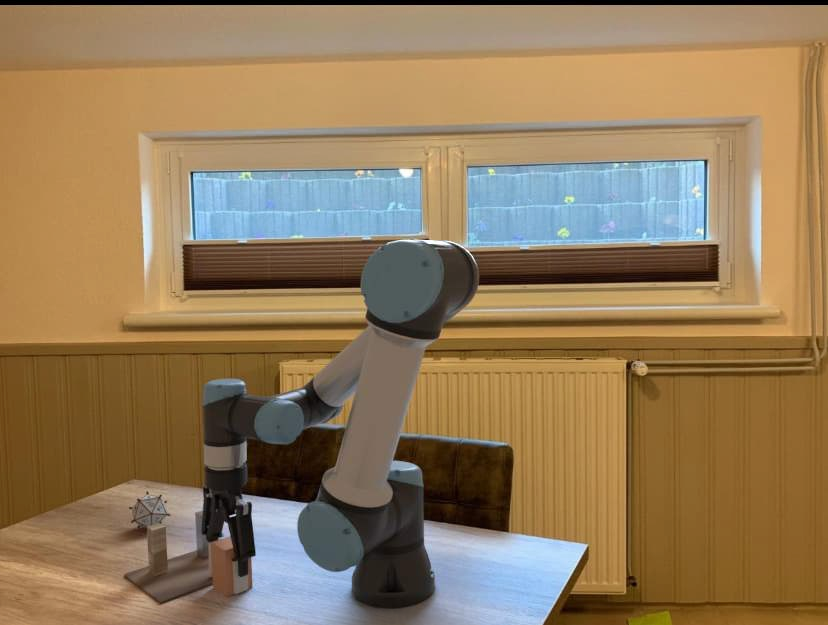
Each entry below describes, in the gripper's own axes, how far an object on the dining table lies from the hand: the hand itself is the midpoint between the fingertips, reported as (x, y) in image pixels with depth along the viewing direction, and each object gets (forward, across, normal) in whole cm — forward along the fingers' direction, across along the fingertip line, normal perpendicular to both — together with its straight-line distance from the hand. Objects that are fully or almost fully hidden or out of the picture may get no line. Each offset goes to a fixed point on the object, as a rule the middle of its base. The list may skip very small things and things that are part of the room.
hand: (228, 582), depth 126 cm
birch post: (+1, +14, +7) cm, 16 cm away
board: (+1, +10, +3) cm, 11 cm away
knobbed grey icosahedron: (+2, +39, -2) cm, 39 cm away
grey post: (+1, +14, -3) cm, 15 cm away
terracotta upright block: (0, -2, 0) cm, 2 cm away
